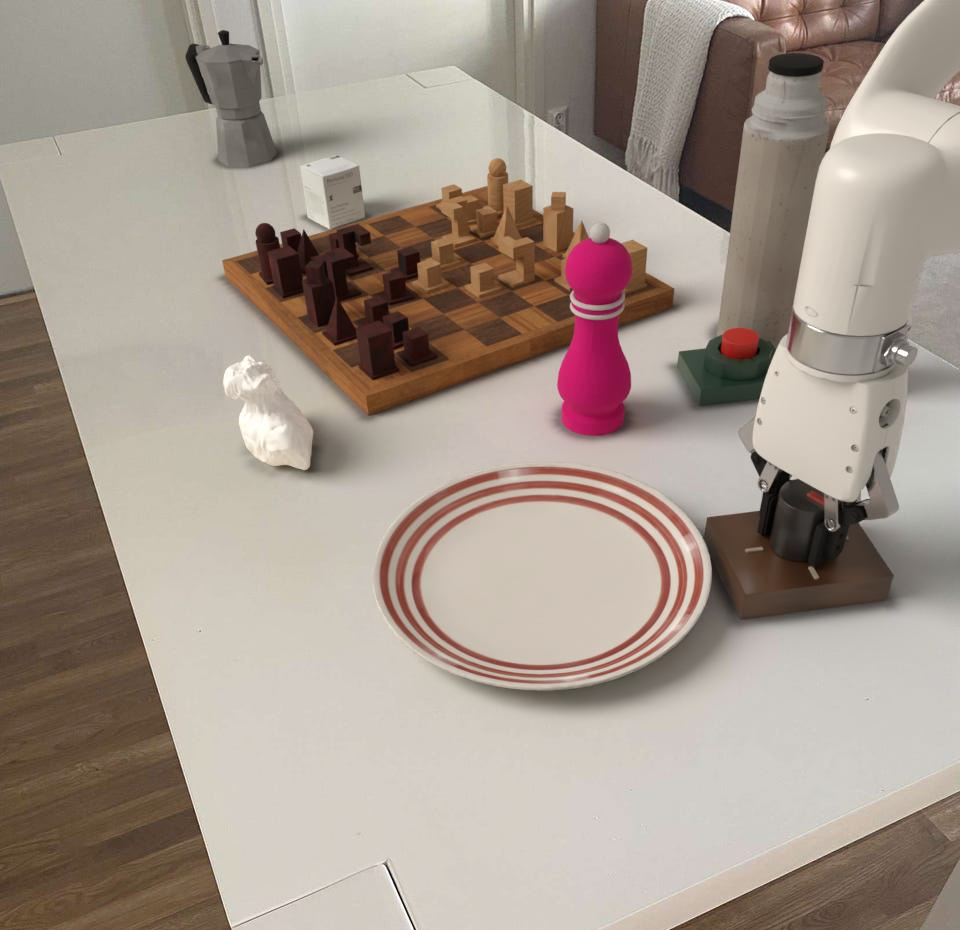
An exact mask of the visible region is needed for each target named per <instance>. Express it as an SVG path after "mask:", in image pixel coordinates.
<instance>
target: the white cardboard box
mask: <svg viewBox="0 0 960 930" xmlns="http://www.w3.org/2000/svg"><path fill="white" fill-rule="evenodd" d="M299 169H300V171H299V172H300V176H301V182H302V189H303V194H304V195H303V196H304V201H305V202H304V203H305V208H306V216H307V219H309V220H311V221H313V222H315V223H317V224H319V225H321V226H322V227H325V228H326V229H328V230H332V229H336V228H339V227H342V226H345V225H348V224H349V223H350V224H351V223H354V222H356V221H359V220H363V219H365V218H366V211H365V204H364V195H363V187H362V186H363V185H362V179H361V178H362V177H361V169H360V165H359V164H358V163H356V162H354V161H351V160H348V159H347V158H345V157H342V156H340V155H338V154H335V155H332V156H329V157H325V158H321V159H317V160H314V161H312V162H309V163H305V164H301V165H300V166H299Z"/></svg>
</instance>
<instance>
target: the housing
mask: <svg viewBox="0 0 960 930" xmlns="http://www.w3.org/2000/svg"><path fill="white" fill-rule="evenodd" d="M722 337H723V335H720V336H718V337H717V336H716V337H714V338H712V339H710V340H709V341H708V342H707V345H706V347H705V348H696V349H687V350H686V349H685V350H679V351H678V355H677V364H676V369H677V370H678V372H679V374H680V375H681V377H682V379H683V380H684V382H685V384H686V386H687V387H688V390H690V393H691V395H692V396H693V398H694V400H695V402H696V404H697V406H698V407H704V406H705V407H706V406H712V405H720V404H721V405H722V404H729V403H731V404H732V403H738V402H739V403H740V402H747V401H755V400H759V399H760V395H761V391H762V388H763V384H764V381H765V378H766V375H767V372H768V369H769V366H770V364H771V361H772V359H773V356H774V354H775V352H776V349H775V347H774V346H773V345H772V343H771V342H770V341H765V340H763V339H761V338H759V341H758V347H757V353H756V355H755V356H754V357H752V358H750V359H741V360H740V359H734V358H729V357H727V356H725V355H723V354H722V353H721V344H722Z"/></svg>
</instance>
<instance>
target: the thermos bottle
mask: <svg viewBox="0 0 960 930" xmlns="http://www.w3.org/2000/svg"><path fill="white" fill-rule="evenodd" d="M824 64H825V60H824V59H823V58H822V57H820V56H818V55H815V54H812V53H811V54H810V53H803V52H789V53H788V52H787V53H779V54H776V55H774V56H772V57H770V58H769V60H768V66H767V67H768V68H767V69H768V71H769V73H768V74H767V76H766V82H765V84H766V85H765V89H764V90H762V91H760V92H759V93H758V94H756V95H755V97H754V102H753V106H752V107H751V113H752V115H751V116H749V117H748V118H746V120H745V121H744V123H743V130H742V137H741V144H740V154H739V161H738V167H737V176H736V182H735V184H736V185H735V192H734V198H733V207H732V214H731V223H730V229H729V236H728V237H729V238H728V246H727V254H726V260H725V261H726V262H725V269H724V277H723V286H722V292H721V299H720V307H719V316H718V323H717V330H716V331H717V332H716V337H718V336H720V335H723V333H724V332H725V331H727V330H729V329H732V328H747V329H750V330H753V331H755V332H756V333H757V334H758V336H759V338H761V339H763V340H765V341H770V342H771V343H772V345H773V346H774V347H775V349H777V347H778V345H779V343H780V341H781V339H782V338H783V337H784V336H785V335H787V334H788V329H789V324H790V319H791V313H792V308H793V304H794V298H795V292H796V287H797V281H798V276H799V270H800V264H801V259H802V253H803V248H804V243H805V237H806V232H807V226H808V221H809V215H810V210H811V204H812V199H813V194H814V188H815V183H816V178H817V174H818V170H819V166H820V164H821V162H822V159H823V157H824V156H825V154H826V149H827V143H828V137H829V133H830V124H829V122H828V120H826V119H825V118H824V117H825V113H826V111H827V110H828V107H827V98H826V96H825V95H824V94H823V93H822V92H821V91H820V87H821V79H822V77H821V72H822V71H823V69H824Z"/></svg>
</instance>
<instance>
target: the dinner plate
mask: <svg viewBox="0 0 960 930" xmlns="http://www.w3.org/2000/svg"><path fill="white" fill-rule="evenodd" d="M712 579H713V569H712V559H711V557H710V555H709V552H708V548H707V546H706V543H705V541H704V536H702V533H701V532H700V530H699V528H698V527H697V526H696V524H695V523H694V521H693V520H692V519H691V518H690V517H689V516H688V514H687V513H686V512H685V511H684V510H683V509H682V508H681V507H680V506H678V504H676V502H674V501H673V500H671V498H669V497H668V496H667V495H665V494H663V493H662V492H660V491H658V490H657V489H655V488H653V487H652V486H650V485H648V484H647V483H644V482H642V481H640V480H639V479H636V478H634V477H631V476H629V475H627V474H624V473H620V472H618V471H614V470H610V469H607V468H604V467H600V466H599V467H598V466H593V465H589V464H583V463H574V462H563V461H526V462H525V461H524V462H516V463H509V464H508V463H507V464H501V465H497V466H496V465H495V466H491V467H487V468H483V469H480V470H475V471H472V472H470V473H466V474H463V475H460V476H458V477H456V478H453V479H451V480H449V481H448V480H447V481H446V482H444V483H442V484H440V485H438V486H436V487H434V488H432V489H431V490H429V491H428V492H426V493H424V494H423V495H421V496H419V497H418V498H417V499H415V500H414V501H413V502H411V503H410V504H409V505H408V506H407V507H405V509H404V510H402V511H401V513H400V514H399V515H398V516H397V517H396V518H395V519H394V520H393V522H392V523H391V524H390V526H389V527H388V528H387V530H386V531H385V533H384V535H383V537H382V539H381V540H380V542H379V545H378V547H377V550H376V553H375V557H374V561H373V568H372V589H373V590H372V591H373V594H374V600H375V603H376V606H377V608H378V610H379V613H380V615H381V616H382V619H383V620H384V621H385V623H386V625H387V626H388V627H389V629H390V630H391V631H392V633H393V634H394V635H395V636H396V637H397V638H398V639H399V640H400V641H401V642H402V644H403V645H404V646H406V647H407V648H408V649H410V650H411V651H412V652H413V653H414V654H415V655H417V656H419V657H420V658H422V659H423V660H425V662H426V661H427V662H428V663H429V664H431V665H433V666H435V667H437V668H438V669H441V670H443V671H445V672H447V673H449V674H452V675H455V676H457V677H460V678H462V679H465V680H470V681H472V682H476V683H478V684H483V685H488V686H493V687H498V688H505V689H512V690H522V691H561V690H572V689H573V690H574V689H580V688H586V687H590V686H596V685H599V684H603V683H606V682H611V681H614V680H617V679H620V678H622V677H624V676H627V675H629V674H632V673H634V672H636V671H639V670H641V669H642V668H645V667H646V666H648V665H650V664H651V663H653V662H655V661H657V660H658V659H660V658H661V657H663V656H664V655H665V654H667V653H668V652H669V651H671V650H672V649H673V648H674V647H676V646H677V645H678V644H679V643H680V642H681V641H682V640H683V639H684V638H686V636H687V635H688V634H689V633H690V631H691V630H692V628H694V626H695V625H696V624H697V623H698V620H699V619H700V617H701V616H702V613H703V612H704V610H705V607H706V605H707V603H708V599H709V597H710V593H711V588H712V581H713V580H712Z"/></svg>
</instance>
